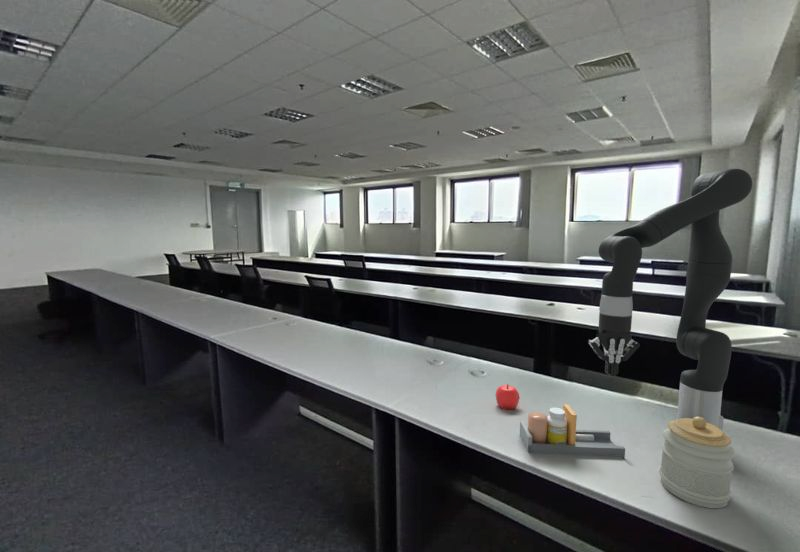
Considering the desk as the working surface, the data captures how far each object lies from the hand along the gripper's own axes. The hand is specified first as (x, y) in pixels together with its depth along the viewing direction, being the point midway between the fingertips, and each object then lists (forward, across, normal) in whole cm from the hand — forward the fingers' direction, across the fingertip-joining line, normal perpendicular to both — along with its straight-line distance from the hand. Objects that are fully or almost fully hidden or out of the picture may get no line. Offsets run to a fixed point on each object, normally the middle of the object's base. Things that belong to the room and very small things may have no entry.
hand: (611, 375), depth 102 cm
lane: (+21, -10, 0) cm, 23 cm away
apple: (+21, -22, +24) cm, 39 cm away
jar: (+21, +12, -16) cm, 29 cm away
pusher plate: (+20, -7, 0) cm, 21 cm away
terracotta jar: (+20, -19, 0) cm, 28 cm away
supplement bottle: (+20, -14, 0) cm, 25 cm away
